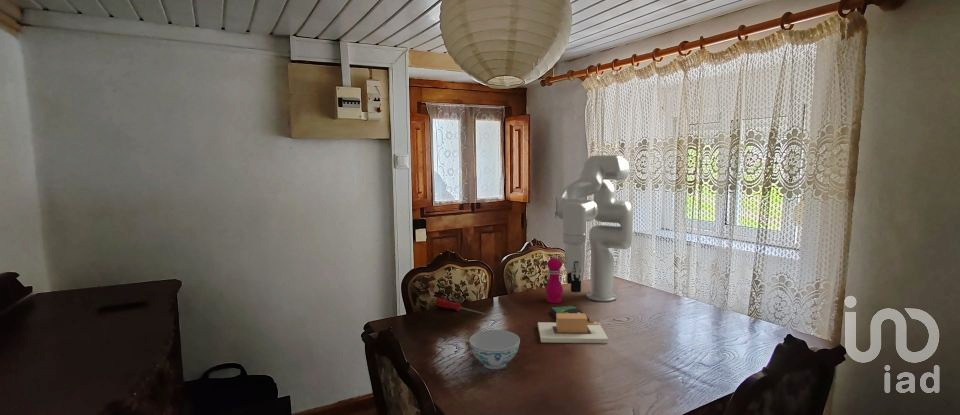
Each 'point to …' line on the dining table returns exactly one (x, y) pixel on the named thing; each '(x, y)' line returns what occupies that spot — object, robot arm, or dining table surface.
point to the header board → (571, 334)
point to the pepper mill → (554, 281)
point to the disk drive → (566, 310)
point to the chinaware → (494, 347)
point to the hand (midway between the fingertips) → (573, 287)
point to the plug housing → (573, 323)
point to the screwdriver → (451, 305)
